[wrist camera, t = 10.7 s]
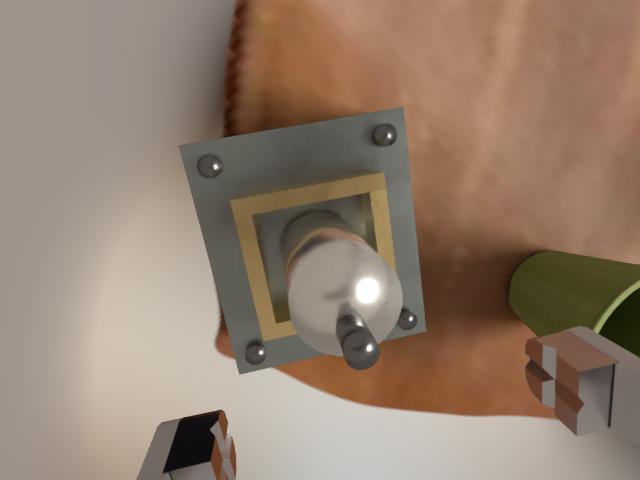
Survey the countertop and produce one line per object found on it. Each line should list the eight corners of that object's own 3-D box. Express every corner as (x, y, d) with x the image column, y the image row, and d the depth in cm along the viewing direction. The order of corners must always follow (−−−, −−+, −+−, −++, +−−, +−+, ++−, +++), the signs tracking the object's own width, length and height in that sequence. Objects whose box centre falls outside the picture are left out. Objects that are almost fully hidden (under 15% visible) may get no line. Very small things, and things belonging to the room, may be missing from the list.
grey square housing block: (198, 146, 27) (167, 145, 19) (376, 115, 29) (419, 102, 20) (244, 333, 32) (236, 397, 23) (398, 299, 33) (441, 349, 25)
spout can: (274, 220, 23) (280, 279, 13) (349, 205, 24) (414, 251, 13) (289, 290, 25) (305, 397, 14) (360, 275, 25) (426, 367, 15)
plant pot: (462, 325, 34) (551, 406, 24) (519, 208, 32) (645, 238, 21) (560, 356, 37) (682, 442, 26) (619, 249, 35) (778, 295, 24)
